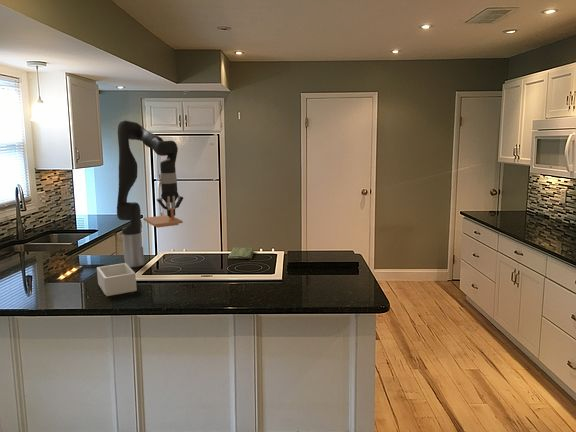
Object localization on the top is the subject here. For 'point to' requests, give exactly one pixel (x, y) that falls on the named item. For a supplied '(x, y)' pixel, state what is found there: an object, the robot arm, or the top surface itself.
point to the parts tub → (116, 279)
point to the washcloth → (241, 253)
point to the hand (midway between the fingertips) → (171, 216)
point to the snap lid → (163, 220)
